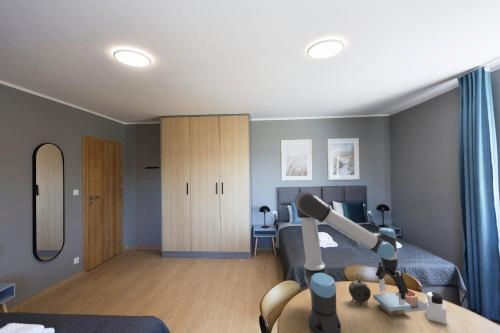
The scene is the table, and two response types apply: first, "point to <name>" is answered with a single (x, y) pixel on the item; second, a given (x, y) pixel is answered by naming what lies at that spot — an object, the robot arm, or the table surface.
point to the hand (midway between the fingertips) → (391, 297)
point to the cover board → (390, 301)
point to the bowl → (410, 297)
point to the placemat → (419, 308)
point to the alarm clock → (359, 291)
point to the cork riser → (392, 311)
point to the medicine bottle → (435, 307)
